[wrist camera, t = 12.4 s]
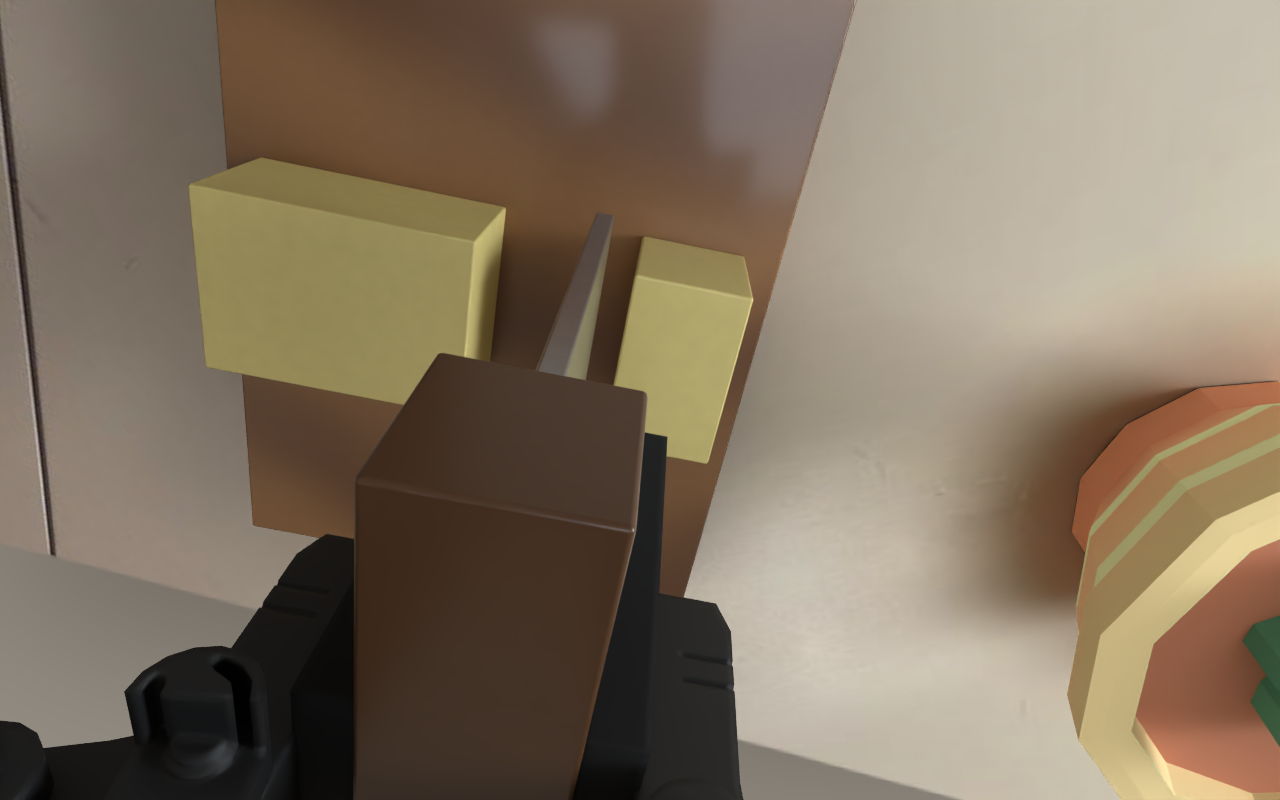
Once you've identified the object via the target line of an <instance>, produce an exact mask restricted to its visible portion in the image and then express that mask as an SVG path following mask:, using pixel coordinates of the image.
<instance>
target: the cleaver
mask: <svg viewBox="0 0 1280 800" xmlns="http://www.w3.org/2000/svg"><path fill="white" fill-rule="evenodd" d="M613 222H614V216H613V215H609V214H604V213H599V212H598V213H596V215H595V218H594V220H593V223H592V225H591V228H590V231H589V233H588V236H587V238H586V241H585V244H584V246H583V249H582V251H581V254H580V257H579V259H578V262H577V264H576V267H575V270H574V272H573V275H572V277H571V280H570V283H569V285H568V288H567V290H566V293H565V296H564V298H563V301H562V303H561V306H560V309H559V311H558V314H557V316H556V319H555V322H554V324H553V327H552V329H551V332H550V335H549V337H548V340H547V342H546V345H545V348H544V350H543V353H542V355H541V358H540V361H539V363H538V366H537V368H536V370H531V369H525V368H520V367H515V366H510V365H504V364H499V363H494V362H489V361H484V360H478V359H473V358H468V357H463V356H457V355H452V354H447V353H439V354H438V355H437V356H436V358H435V359H434V361H433V362H432V364H431V365H430V367H429V368H428V370H427V371H426V373H425V374H424V376H423V377H422V379H421V380H420V382H419V383H418V385H417V386H416V388H415V389H414V391H413V392H412V394H411V395H410V397H409V398H408V400H407V401H406V402H405V404H404V405H403V407H402V408H401V410H400V411H399V413H398V414H397V416H396V417H395V419H394V420H393V422H392V423H391V425H390V426H389V428H388V429H387V431H386V432H385V434H384V435H383V437H382V438H381V440H380V441H379V443H378V444H377V446H376V447H375V449H374V450H373V452H372V453H371V455H370V456H369V458H368V459H367V461H366V462H365V464H364V465H363V467H362V468H361V470H360V471H359V473H358V474H357V476H356V478H355V493H354V745H353V800H572V799H573V795H574V790H575V786H576V782H577V778H578V774H579V769H580V765H581V761H582V757H583V753H584V748H585V744H586V740H587V736H588V732H589V727H590V723H591V719H592V715H593V711H594V706H595V702H596V698H597V694H598V689H599V685H600V681H601V677H602V673H603V668H604V664H605V660H606V656H607V652H608V647H609V643H610V639H611V635H612V631H613V626H614V622H615V618H616V614H617V610H618V605H619V601H620V597H621V593H622V588H623V584H624V580H625V576H626V572H627V567H628V563H629V559H630V555H631V551H632V546H633V542H634V538H635V534H636V527H637V516H638V504H639V493H640V481H641V470H642V458H643V447H644V435H645V424H646V412H647V401H648V397H647V393H646V392H644V391H640V390H635V389H630V388H625V387H619V386H614V385H609V384H604V383H599V382H593V381H588V380H586V377H587V371H588V365H589V360H590V354H591V348H592V342H593V337H594V331H595V325H596V319H597V314H598V308H599V302H600V296H601V291H602V285H603V279H604V274H605V268H606V262H607V256H608V251H609V245H610V239H611V233H612V228H613Z"/></svg>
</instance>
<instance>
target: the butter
mask: <svg viewBox="0 0 1280 800" xmlns="http://www.w3.org/2000/svg"><path fill="white" fill-rule="evenodd" d="M188 188H189V198H190V208H191V219H192V229H193V239H194V249H195V260H196V270H197V280H198V290H199V300H200V311H201V321H202V331H203V341H204V351H205V362H206V367H209V368H214V369H219V370H225V371H230V372H235V373H240V374H245V375H251V376H256V377H261V378H266V379H271V380H276V381H282V382H287V383H292V384H297V385H302V386H308V387H313V388H318V389H323V390H328V391H333V392H339V393H344V394H349V395H354V396H359V397H365V398H370V399H375V400H380V401H385V402H390V403H396V404H401V405H404V404H405V402H406V401H407V400H408V398H409V397H410V395H411V394H412V392H413V391H414V389H415V388H416V386H417V385H418V383H419V382H420V380H421V379H422V377H423V376H424V374H425V373H426V371H427V370H428V368H429V367H430V365H431V364H432V362H433V361H434V359H435V358H436V356H437V355H438V354H439V353H447V354H452V355H457V356H463V357H468V358H473V359H478V360H484V361H489V362H490V358H491V349H492V339H493V329H494V320H495V310H496V300H497V291H498V281H499V272H500V262H501V252H502V243H503V233H504V224H505V214H506V208H505V207H502V206H497V205H492V204H487V203H482V202H477V201H472V200H468V199H463V198H458V197H453V196H448V195H443V194H438V193H433V192H428V191H423V190H418V189H414V188H409V187H404V186H399V185H394V184H389V183H384V182H379V181H374V180H369V179H365V178H360V177H355V176H350V175H345V174H340V173H335V172H330V171H325V170H320V169H315V168H311V167H306V166H301V165H296V164H291V163H286V162H281V161H276V160H271V159H266V158H262V157H261V158H258V159H255V160H253V161H250V162H247V163H245V164H242V165H239V166H237V167H234V168H231V169H228V170H226V171H223V172H220V173H218V174H215V175H212V176H210V177H207V178H204V179H202V180H199V181H196V182H193V183H191V184H189V186H188Z"/></svg>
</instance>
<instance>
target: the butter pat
mask: <svg viewBox="0 0 1280 800" xmlns="http://www.w3.org/2000/svg"><path fill="white" fill-rule="evenodd" d="M752 303H753V296H752V292H751V287H750V282H749V277H748V272H747V268H746V263H745V258H744V257H743V256H739V255H734V254H729V253H724V252H719V251H714V250H710V249H705V248H700V247H695V246H690V245H685V244H680V243H675V242H670V241H665V240H661V239H656V238H651V237H646V236H644V237H643V238H642V242H641V247H640V252H639V257H638V262H637V267H636V272H635V277H634V282H633V287H632V292H631V297H630V302H629V307H628V312H627V318H626V323H625V328H624V333H623V338H622V343H621V348H620V353H619V359H618V364H617V369H616V374H615V379H614V384H613V385H614V386H619V387H625V388H630V389H635V390H640V391H644V392H646V393H647V397H648V401H647V412H646V424H645V432H646V433H651V434H656V435H661V436H666V437H668V438H667V456H668V457H673V458H678V459H684V460H689V461H694V462H699V463H704V464H707V463H708V461H709V457H710V454H711V450H712V447H713V443H714V439H715V436H716V432H717V429H718V425H719V421H720V418H721V414H722V411H723V407H724V404H725V400H726V396H727V393H728V389H729V386H730V382H731V378H732V375H733V371H734V368H735V364H736V361H737V357H738V353H739V350H740V346H741V343H742V339H743V335H744V332H745V328H746V325H747V321H748V318H749V314H750V310H751V307H752Z"/></svg>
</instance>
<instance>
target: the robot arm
mask: <svg viewBox="0 0 1280 800" xmlns="http://www.w3.org/2000/svg"><path fill="white" fill-rule="evenodd" d="M667 438H668V437H666V436H661V435H656V434H651V433H646V432H645V435H644V447H643V458H642V470H641V481H640V493H639V504H638V516H637V527H636V534H635V538H634V542H633V546H632V551H631V555H630V559H629V563H628V567H627V572H626V576H625V580H624V584H623V588H622V593H621V597H620V601H619V605H618V610H617V614H616V618H615V622H614V626H613V631H612V635H611V639H610V643H609V647H608V652H607V656H606V660H605V664H604V668H603V673H602V677H601V681H600V685H599V689H598V694H597V698H596V702H595V706H594V711H593V715H592V719H591V723H590V727H589V732H588V736H587V740H586V744H585V748H584V753H583V757H582V761H581V765H580V769H579V774H578V778H577V782H576V786H575V790H574V795H573V799H572V800H743V796H742V791H741V785H740V776H739V759H738V742H737V726H736V709H735V693H734V691H733V687H734V677H733V667H732V661H733V660H732V644H731V631H730V629H729V627H728V625H727V623H726V622H725V620H724V618H723V616H722V614H721V612H720V610H719V608H718V607H717V605H716V604H715V603H710V602H704V601H699V600H693V599H688V598H683V597H677V596H672V595H666V594H661V593H659V589H660V570H661V551H662V532H663V513H664V495H665V476H666V457H667ZM124 692H125V697H126V701H127V706H128V711H129V715H130V720H131V724H132V729H133V734H134V736H130V737H125V738H120V739H115V740H110V741H102V742H93V743H84V744H76V745H67V746H58V747H51V748H43V747H42V744H41V741H40V739H39V736H38V734H37V733H36V732H34V731H33V730H31V729H29V728H28V727H26V726H24V725H23V724H21V723H17V722H8V721H0V800H353V745H354V539H352V538H347V537H341V536H336V535H331V534H325V535H324V536H322V537H321V538H319V539H318V540H316V541H315V542H314V543H312V544H311V545H309V546H308V547H306V548H305V549H303V550H302V551H300V552H299V553H297V554H296V556H295V557H294V559H293V560H292V562H291V563H290V564H289V566H288V567H287V569H286V570H285V572H284V573H283V574H282V576H281V577H280V579H279V580H278V584H277V586H274V587H273V589H272V590H271V592H270V593H269V595H268V596H267V597H266V599H265V600H264V602H263V606H262V608H259V609H258V610H257V612H256V613H255V615H254V616H253V618H252V619H251V621H250V622H249V623H248V625H247V626H246V628H245V629H244V631H243V632H242V633H241V635H240V636H239V638H238V639H237V641H236V642H235V644H234V645H233V646H232V648H227V647H223V646H213V647H197V648H192V649H189V650H186V651H183V652H179V653H176V654H173V655H170V656H167V657H166V658H164V659H162V660H161V661H159V662H157V663H156V664H154V665H153V666H151V667H149V668H148V669H146V670H144V671H143V672H142V673H141V674H140V675H139V676H138V677H137V678H136V679H135V680H134V682H133V683H132V684H131V685H130V686H129V687H128V688H127V689H126V690H125V691H124Z"/></svg>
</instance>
